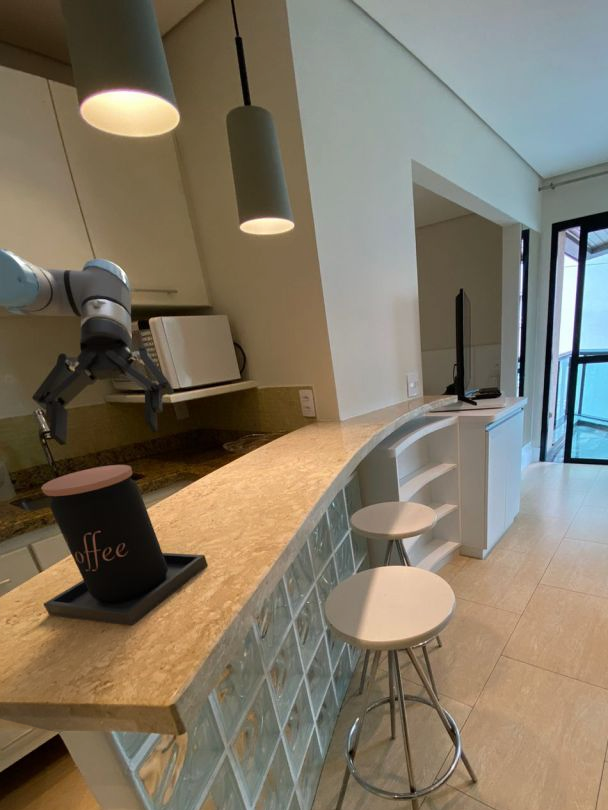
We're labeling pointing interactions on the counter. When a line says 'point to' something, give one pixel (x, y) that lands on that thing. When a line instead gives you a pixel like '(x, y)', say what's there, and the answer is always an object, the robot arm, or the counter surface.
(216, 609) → the counter surface
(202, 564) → the black tray
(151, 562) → the coffee jar
